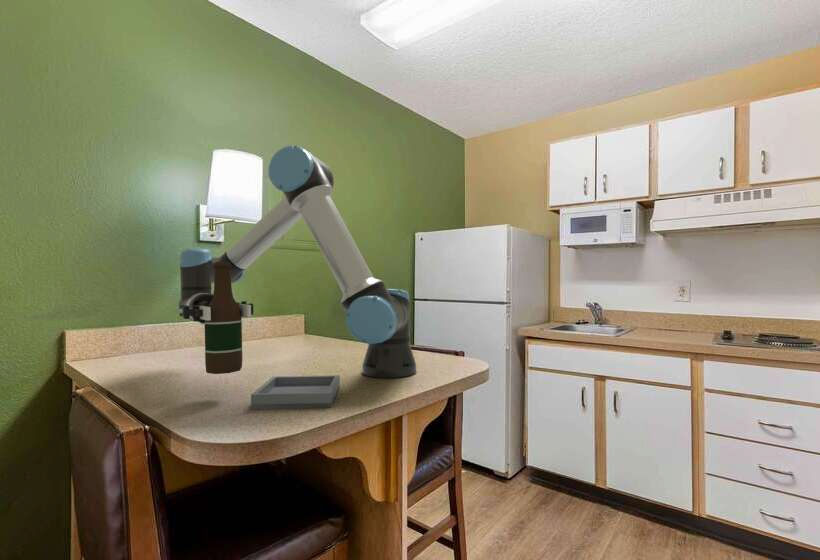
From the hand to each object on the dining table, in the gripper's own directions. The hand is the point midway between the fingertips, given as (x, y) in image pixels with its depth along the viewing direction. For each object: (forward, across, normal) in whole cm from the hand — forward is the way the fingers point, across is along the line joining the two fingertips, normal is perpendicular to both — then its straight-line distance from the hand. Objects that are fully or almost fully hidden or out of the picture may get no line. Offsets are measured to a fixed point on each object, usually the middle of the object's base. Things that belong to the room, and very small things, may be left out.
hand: (229, 312), depth 90 cm
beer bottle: (-5, 0, -13) cm, 14 cm away
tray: (+5, -13, -20) cm, 24 cm away
